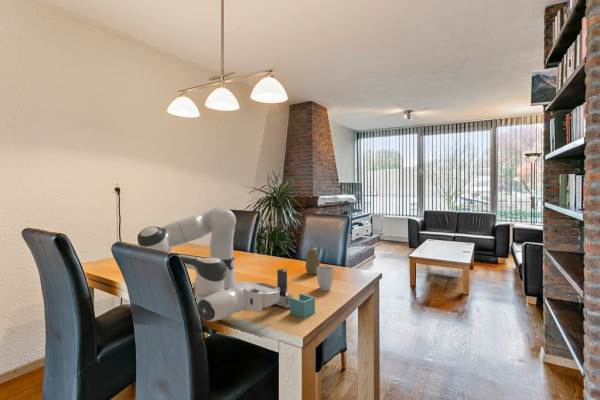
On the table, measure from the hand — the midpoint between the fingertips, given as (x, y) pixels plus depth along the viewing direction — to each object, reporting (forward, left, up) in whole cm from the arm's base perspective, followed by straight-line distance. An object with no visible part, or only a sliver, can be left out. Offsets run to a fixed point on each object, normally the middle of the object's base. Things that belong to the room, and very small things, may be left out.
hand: (270, 286), depth 119 cm
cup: (+16, +32, -10) cm, 37 cm away
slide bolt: (-1, +9, -9) cm, 13 cm away
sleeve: (-5, +11, -10) cm, 16 cm away
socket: (+12, +2, -10) cm, 16 cm away
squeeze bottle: (+5, +55, -10) cm, 56 cm away
